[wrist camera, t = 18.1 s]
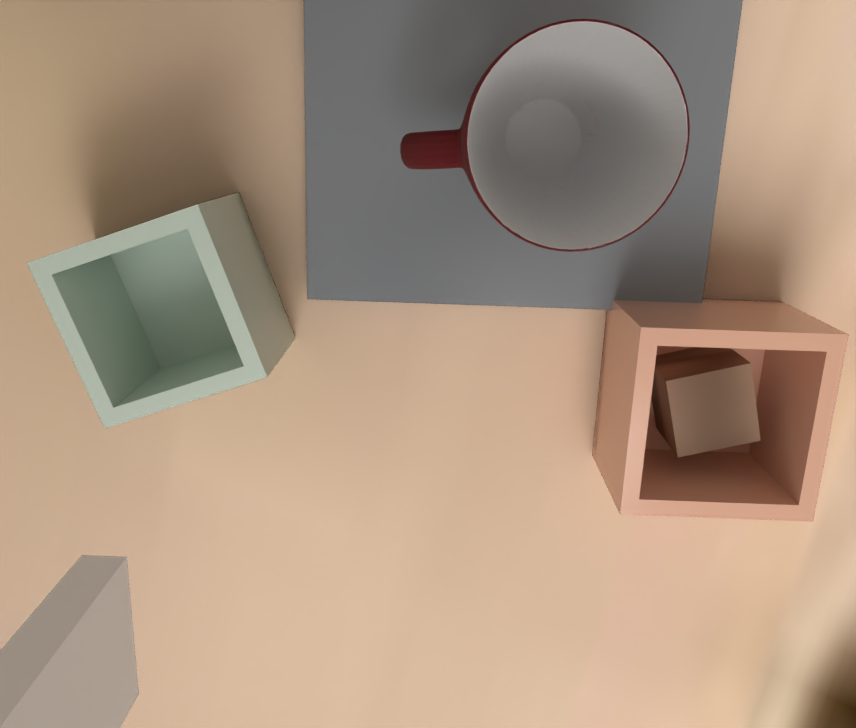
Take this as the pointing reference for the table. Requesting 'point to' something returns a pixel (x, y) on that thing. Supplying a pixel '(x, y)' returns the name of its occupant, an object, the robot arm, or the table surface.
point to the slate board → (450, 188)
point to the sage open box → (167, 310)
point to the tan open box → (775, 400)
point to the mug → (568, 135)
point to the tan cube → (704, 400)
